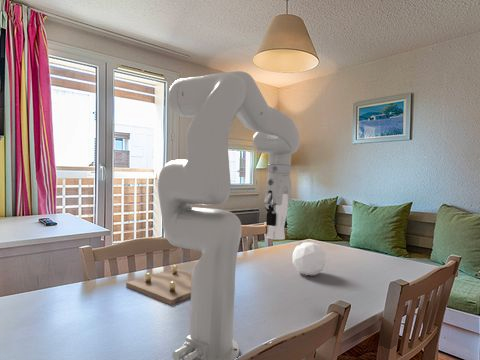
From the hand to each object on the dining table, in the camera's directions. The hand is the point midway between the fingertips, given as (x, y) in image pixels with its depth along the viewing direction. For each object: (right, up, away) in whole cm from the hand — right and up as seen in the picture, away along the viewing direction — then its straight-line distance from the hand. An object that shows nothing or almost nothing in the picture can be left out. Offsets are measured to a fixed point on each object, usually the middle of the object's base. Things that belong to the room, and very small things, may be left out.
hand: (276, 223), depth 104 cm
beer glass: (0, -5, 0) cm, 5 cm away
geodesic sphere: (+16, -24, +23) cm, 36 cm away
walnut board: (-35, -22, +3) cm, 41 cm away
